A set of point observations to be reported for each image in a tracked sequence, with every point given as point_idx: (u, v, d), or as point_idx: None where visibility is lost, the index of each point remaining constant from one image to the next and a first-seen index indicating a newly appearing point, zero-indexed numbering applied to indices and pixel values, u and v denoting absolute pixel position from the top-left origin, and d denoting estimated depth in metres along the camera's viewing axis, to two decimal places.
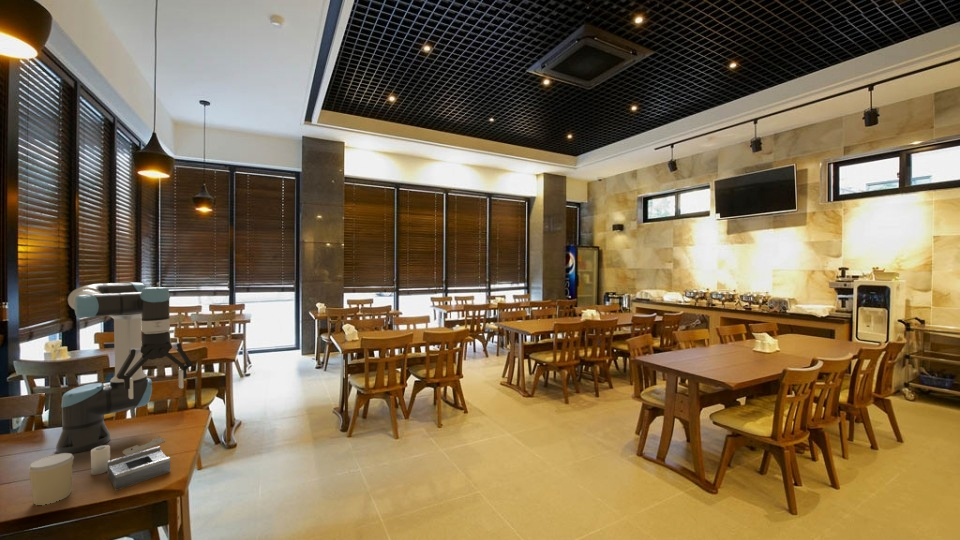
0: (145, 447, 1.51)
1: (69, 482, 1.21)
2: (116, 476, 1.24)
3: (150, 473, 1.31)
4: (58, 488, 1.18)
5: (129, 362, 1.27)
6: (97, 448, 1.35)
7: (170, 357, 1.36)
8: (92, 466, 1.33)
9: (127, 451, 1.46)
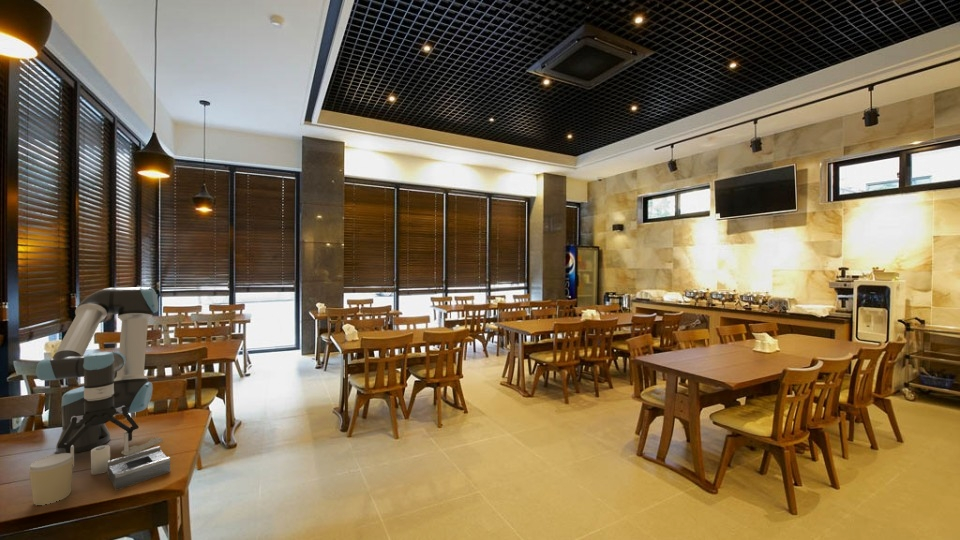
0: (143, 447, 1.51)
1: (69, 482, 1.21)
2: (116, 476, 1.24)
3: (150, 473, 1.31)
4: (58, 488, 1.18)
5: (70, 430, 1.29)
6: (97, 448, 1.35)
7: (114, 422, 1.37)
8: (92, 466, 1.33)
9: (126, 452, 1.46)
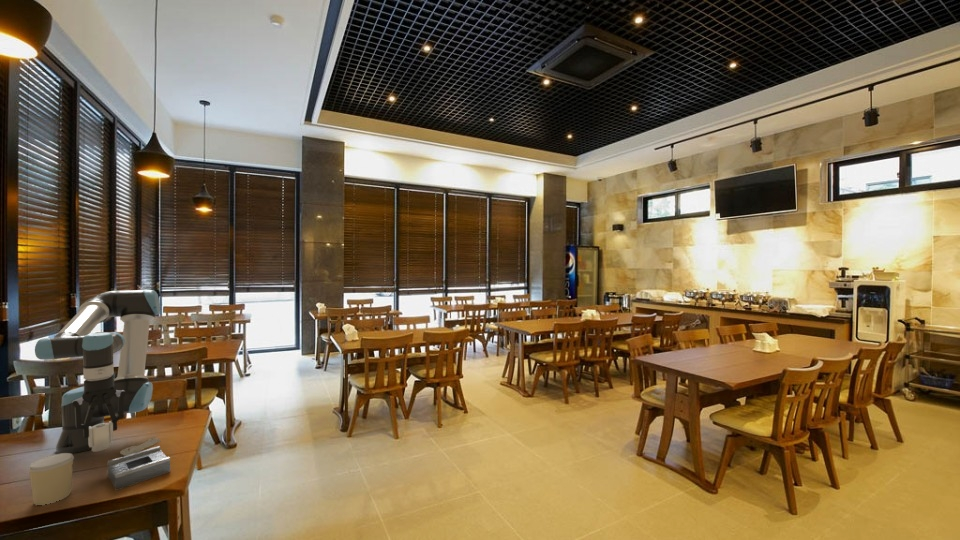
0: (141, 447, 1.51)
1: (69, 482, 1.21)
2: (116, 476, 1.24)
3: (150, 473, 1.31)
4: (58, 488, 1.18)
5: (78, 412, 1.30)
6: (97, 425, 1.35)
7: (108, 405, 1.36)
8: None
9: (124, 452, 1.46)
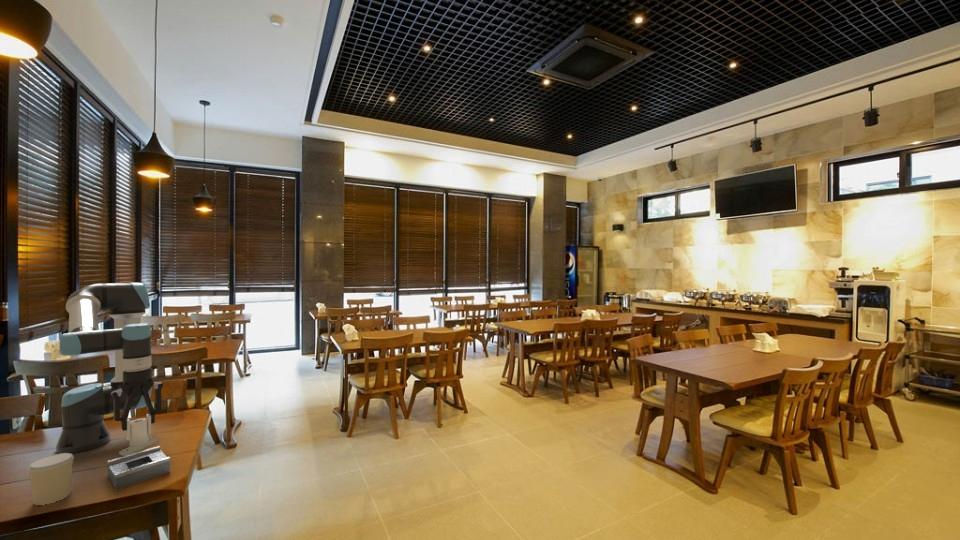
0: (140, 447, 1.51)
1: (69, 482, 1.21)
2: (116, 476, 1.24)
3: (150, 473, 1.31)
4: (58, 488, 1.18)
5: (117, 404, 1.28)
6: (135, 421, 1.33)
7: (146, 397, 1.34)
8: (131, 438, 1.31)
9: (123, 452, 1.46)
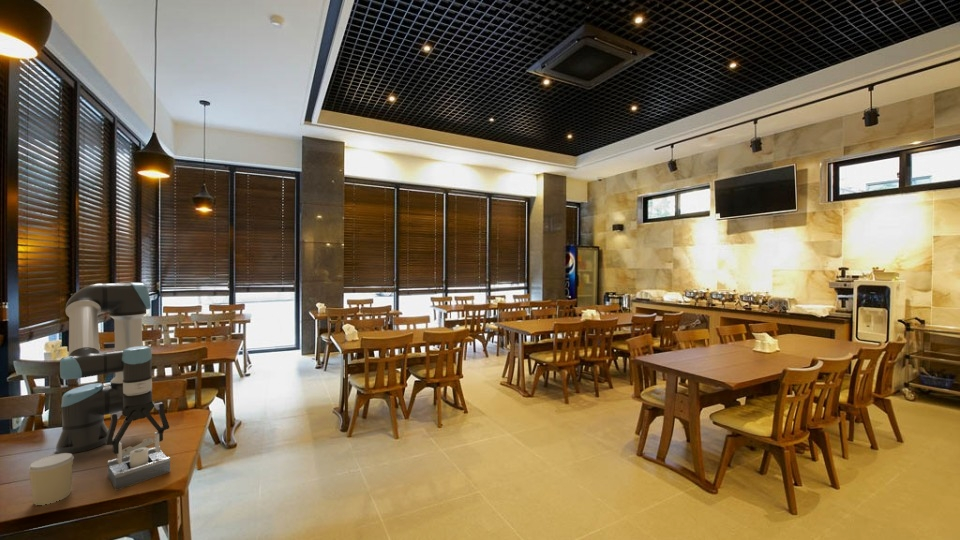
0: None
1: (69, 482, 1.21)
2: (116, 476, 1.24)
3: (150, 473, 1.31)
4: (58, 488, 1.18)
5: (113, 427, 1.27)
6: (136, 450, 1.33)
7: (150, 418, 1.35)
8: None
9: (122, 453, 1.45)
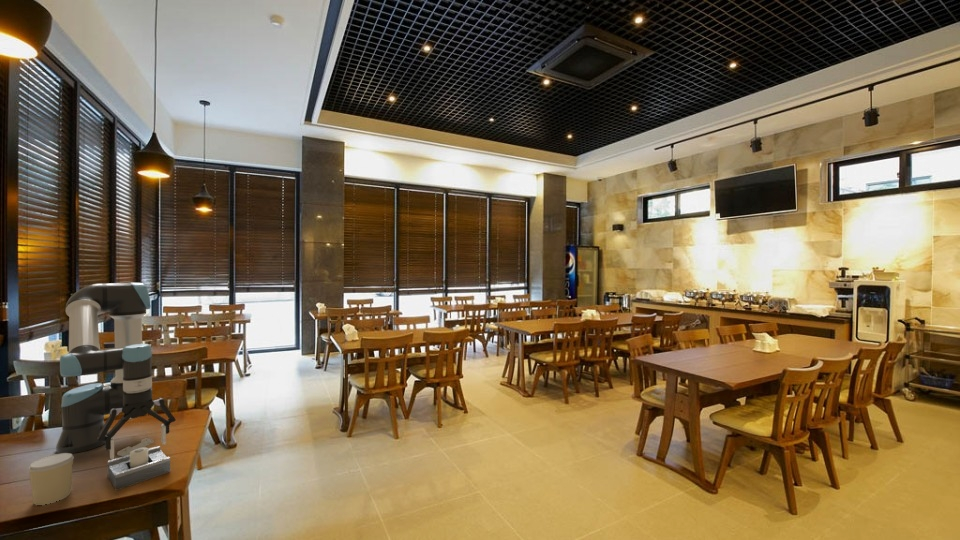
0: (137, 448, 1.51)
1: (69, 482, 1.21)
2: (116, 476, 1.24)
3: (150, 473, 1.31)
4: (58, 488, 1.18)
5: (110, 423, 1.27)
6: (136, 450, 1.33)
7: (152, 414, 1.35)
8: None
9: (121, 453, 1.45)
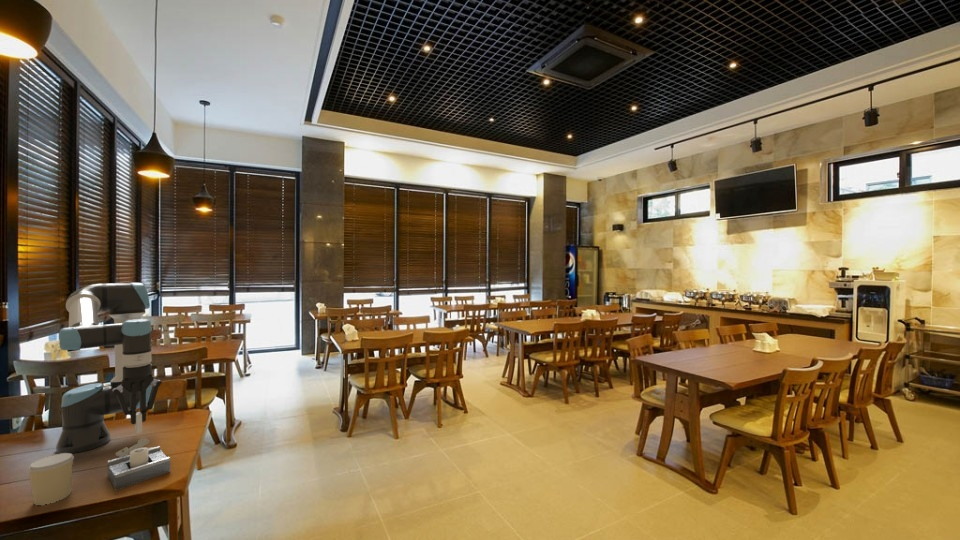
0: (134, 448, 1.50)
1: (69, 482, 1.21)
2: (116, 476, 1.24)
3: (150, 473, 1.31)
4: (58, 488, 1.18)
5: (122, 400, 1.29)
6: (136, 450, 1.33)
7: (142, 393, 1.33)
8: None
9: (119, 454, 1.45)
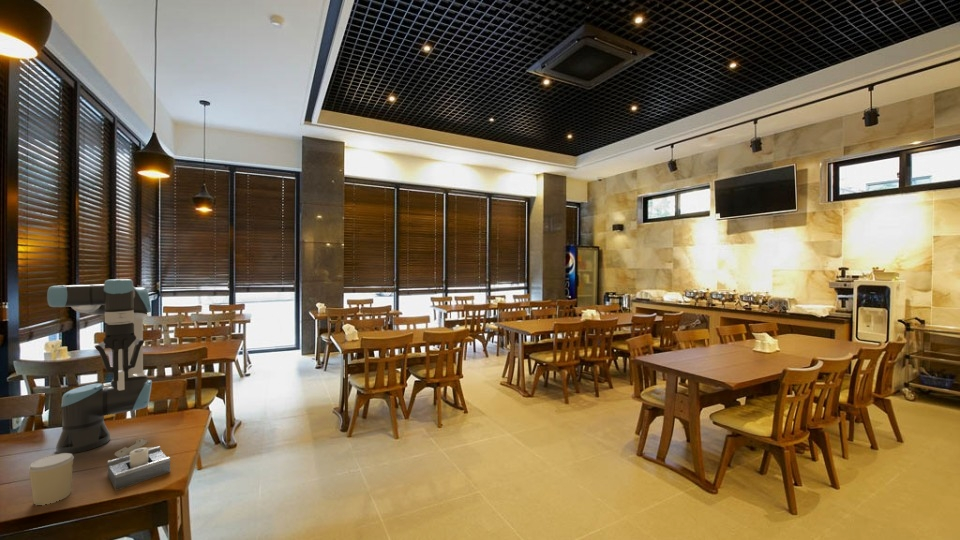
0: (132, 448, 1.50)
1: (69, 482, 1.21)
2: (116, 476, 1.24)
3: (150, 473, 1.31)
4: (58, 488, 1.18)
5: (104, 356, 1.32)
6: (136, 450, 1.33)
7: (125, 351, 1.36)
8: None
9: (118, 454, 1.44)
